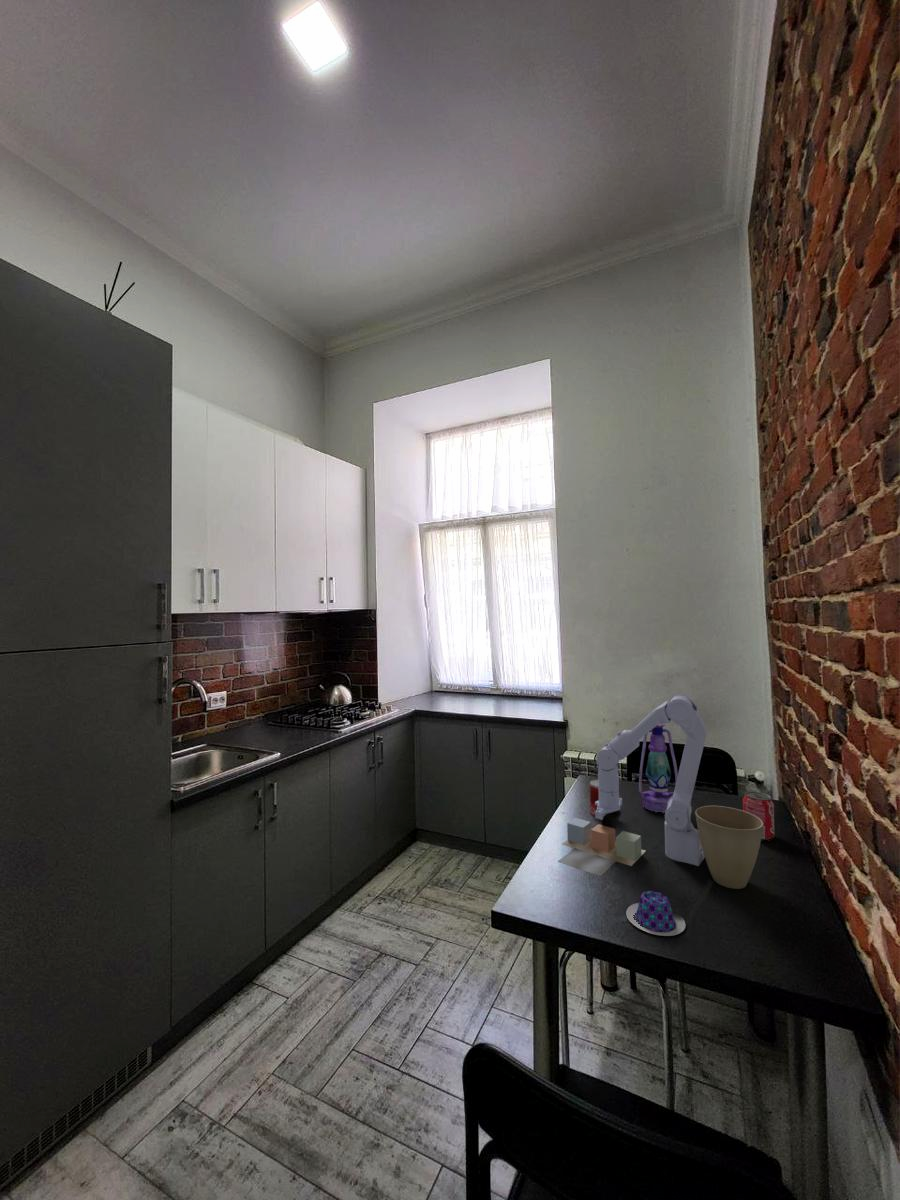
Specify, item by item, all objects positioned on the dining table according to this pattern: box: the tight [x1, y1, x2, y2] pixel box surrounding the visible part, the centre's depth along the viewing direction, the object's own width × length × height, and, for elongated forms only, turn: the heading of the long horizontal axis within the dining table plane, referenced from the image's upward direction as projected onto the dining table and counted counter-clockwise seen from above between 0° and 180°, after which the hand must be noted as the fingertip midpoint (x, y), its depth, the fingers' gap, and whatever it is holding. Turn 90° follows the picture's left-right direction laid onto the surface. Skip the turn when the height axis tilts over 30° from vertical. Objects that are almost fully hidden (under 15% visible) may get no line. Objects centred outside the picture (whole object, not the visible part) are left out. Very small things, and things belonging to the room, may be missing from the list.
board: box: [557, 839, 647, 877], centre depth 137 cm, size 20×21×1 cm
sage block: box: [615, 830, 642, 862], centre depth 136 cm, size 5×5×5 cm
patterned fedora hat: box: [625, 890, 686, 937], centre depth 109 cm, size 12×12×5 cm
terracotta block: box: [591, 823, 616, 853], centre depth 141 cm, size 5×5×5 cm
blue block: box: [566, 817, 592, 845], centre depth 146 cm, size 5×5×5 cm
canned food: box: [589, 779, 599, 817], centre depth 165 cm, size 8×8×11 cm
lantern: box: [638, 723, 679, 814], centre depth 172 cm, size 13×12×30 cm
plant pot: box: [694, 805, 763, 890], centre depth 124 cm, size 15×15×16 cm
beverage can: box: [742, 791, 776, 840], centre depth 150 cm, size 8×8×12 cm
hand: (609, 836), depth 144 cm, fingers closed
